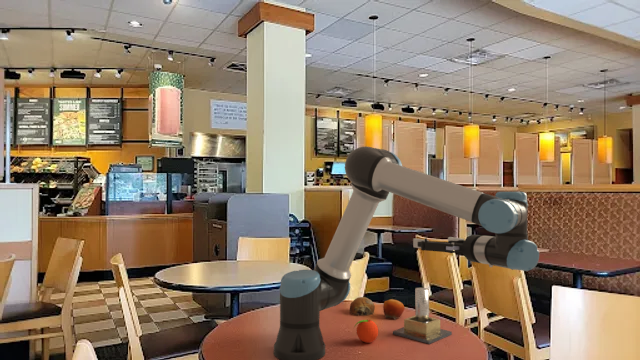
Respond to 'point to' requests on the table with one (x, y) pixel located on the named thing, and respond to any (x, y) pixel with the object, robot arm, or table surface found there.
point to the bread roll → (362, 306)
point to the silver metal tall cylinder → (422, 305)
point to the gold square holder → (422, 330)
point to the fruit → (393, 308)
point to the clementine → (367, 330)
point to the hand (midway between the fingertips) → (431, 241)
